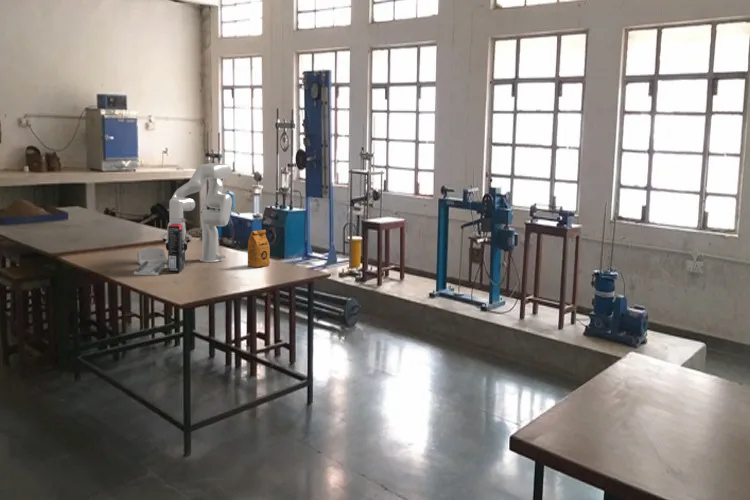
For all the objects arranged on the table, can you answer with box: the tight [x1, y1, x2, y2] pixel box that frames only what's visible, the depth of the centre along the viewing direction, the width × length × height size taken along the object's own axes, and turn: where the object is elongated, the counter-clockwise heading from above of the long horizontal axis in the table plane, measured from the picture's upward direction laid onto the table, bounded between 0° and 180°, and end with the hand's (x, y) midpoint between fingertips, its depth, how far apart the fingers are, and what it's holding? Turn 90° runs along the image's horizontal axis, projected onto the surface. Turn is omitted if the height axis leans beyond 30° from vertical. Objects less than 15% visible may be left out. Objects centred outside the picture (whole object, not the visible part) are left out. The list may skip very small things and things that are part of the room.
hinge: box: [137, 247, 168, 266], centre depth 408 cm, size 17×5×10 cm, turn 126°
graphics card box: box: [167, 221, 186, 274], centre depth 388 cm, size 17×7×27 cm, turn 5°
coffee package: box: [247, 229, 271, 268], centre depth 408 cm, size 10×12×22 cm
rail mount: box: [133, 261, 168, 276], centre depth 386 cm, size 13×22×4 cm, turn 4°
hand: (176, 250), depth 388 cm, fingers open, 9 cm apart
